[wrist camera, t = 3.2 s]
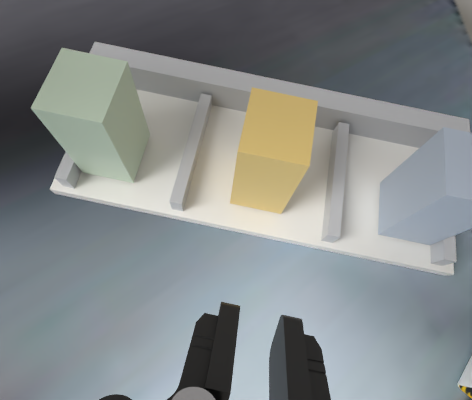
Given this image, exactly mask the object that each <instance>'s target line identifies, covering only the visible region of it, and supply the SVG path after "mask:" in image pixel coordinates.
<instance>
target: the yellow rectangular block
mask: <svg viewBox="0 0 472 400" xmlns="http://www.w3.org/2000/svg"><path fill="white" fill-rule="evenodd" d="M317 106H318V101H316V100H311V99H306V98H302V97H297V96H292V95H287V94H282V93H278V92H273V91H268V90H263V89H258V88H253V87H252V89H251V94H250V98H249V102H248V107H247V111H246V116H245V120H244V125H243V129H242V134H241V138H240V143H239V147H238V152H237V158H236V165H235V172H234V179H233V186H232V192H231V199H230V203H231V204H235V205H240V206H245V207H250V208H254V209H259V210H264V211H269V212H274V213H278V214H281V213H282V212H283V210H284V208H285V207H286V205H287V203H288V202H289V200H290V198H291V197H292V195H293V193H294V192H295V190H296V188H297V187H298V185H299V183H300V182H301V180H302V178H303V177H304V175H305V173H306V172H307V170H308V168H309V167H310V160H311V152H312V144H313V137H314V129H315V121H316V113H317Z"/></svg>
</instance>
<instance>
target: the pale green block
mask: <svg viewBox="0 0 472 400" xmlns="http://www.w3.org/2000/svg"><path fill="white" fill-rule="evenodd" d="M31 109H32V110H33V112H34V113H35V114H36V115H37V117H38V118H39V119H40V120H41V122H42V123H43V124H44V125H45V127H46V128H47V129H48V130H49V131H50V133H51V134H52V135H53V136H54V138H55V139H56V140H57V141H58V143H59V144H60V145H61V146H62V148H63V149H64V150H65V151H66V152H67V154H68V155H69V156H70V157H71V159H72V160H73V161H74V162H75V164H76V165H77V166H78V167H79V168H80V170H81V171H82V172H83V173H88V174H93V175H97V176H102V177H107V178H112V179H116V180H121V181H126V182H131V183H134V180H135V177H136V175H137V172H138V169H139V166H140V163H141V160H142V157H143V154H144V151H145V148H146V145H147V143H148V140H149V137H150V132H149V129H148V126H147V123H146V119H145V116H144V113H143V110H142V106H141V103H140V100H139V97H138V94H137V90H136V87H135V84H134V81H133V77H132V74H131V71H130V68H129V65H128V61H123V60H118V59H114V58H109V57H104V56H99V55H94V54H89V53H85V52H80V51H75V50H70V49H65V48H62V49H61V51H60V52H59V54H58V56H57V58H56V60H55V62H54V64H53V66H52V68H51V70H50V72H49V74H48V76H47V78H46V79H45V81H44V83H43V85H42V87H41V89H40V91H39V93H38V95H37V97H36V99H35V101H34V103H33V104H32V106H31Z"/></svg>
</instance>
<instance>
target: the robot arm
mask: <svg viewBox="0 0 472 400" xmlns="http://www.w3.org/2000/svg"><path fill="white" fill-rule="evenodd" d="M239 312H240V306H238V305H234V304H229V303H224V302H221V306H220V310H219V315H218V316H216V315H211V314H206V313H204V314H203V315H202V317H201V318H200V319H199V320H198V321H197V322H196V325H195V329H194V332H193V336H192V340H191V343H190V347H189V351H188V354H187V358H186V362H185V365H184V369H183V373H182V376H181V380H180V383H179V386H178V388H177V390H176V391H175V393H174V394H173V395H172V396H171V397H170V398H168V399H167V400H229V396H230V391H231V382H232V374H233V365H234V356H235V347H236V338H237V329H238V321H239ZM323 363H324V361H323V355H322V350H321V348H320V346H319V344H318V343H317V341H316V339H315V338H314V336H309V335H305V334H304V331H303V323H302V319H299V318H295V317H290V316H285V315H281V317H280V320H279V323H278V326H277V329H276V332H275V336H274V339H273V342H272V346H271V350H270V358H269V400H331V399H330V393H329V388H328V382H327V377H326V375H325V374H326V371H325V366H324V364H323ZM99 400H132V399H130V398H129V397H127V396H124V395H109V396H106V397H103V398H101V399H99Z"/></svg>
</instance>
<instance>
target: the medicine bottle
mask: <svg viewBox="0 0 472 400" xmlns="http://www.w3.org/2000/svg"><path fill="white" fill-rule="evenodd" d="M458 387H459V389H460V390H462V391H463V392H464V393H465V394H466V395H468V396H469V397H470V398H471V399H472V355H471V357H470V359H469V361H468V363H467V365H466V367H465V369H464V371H463V374H462V376H461V378H460V380H459V382H458Z"/></svg>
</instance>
